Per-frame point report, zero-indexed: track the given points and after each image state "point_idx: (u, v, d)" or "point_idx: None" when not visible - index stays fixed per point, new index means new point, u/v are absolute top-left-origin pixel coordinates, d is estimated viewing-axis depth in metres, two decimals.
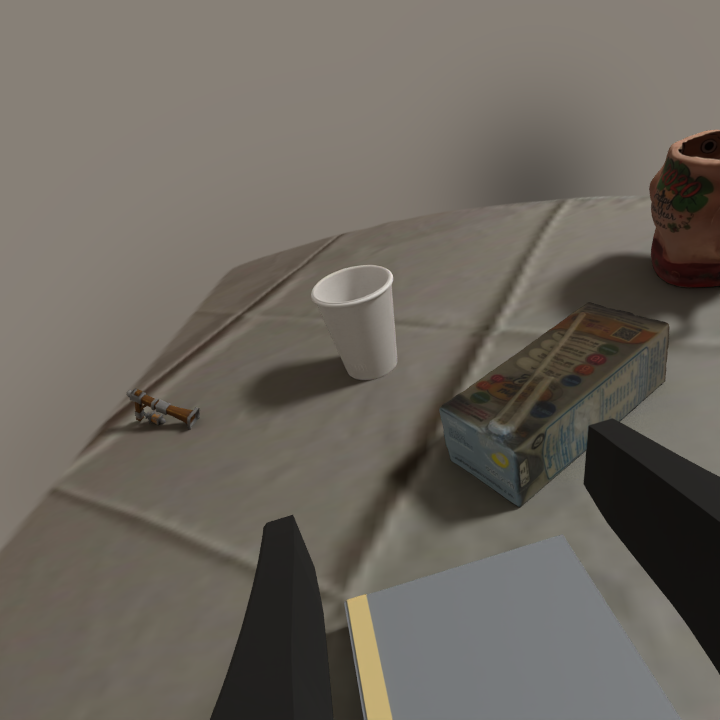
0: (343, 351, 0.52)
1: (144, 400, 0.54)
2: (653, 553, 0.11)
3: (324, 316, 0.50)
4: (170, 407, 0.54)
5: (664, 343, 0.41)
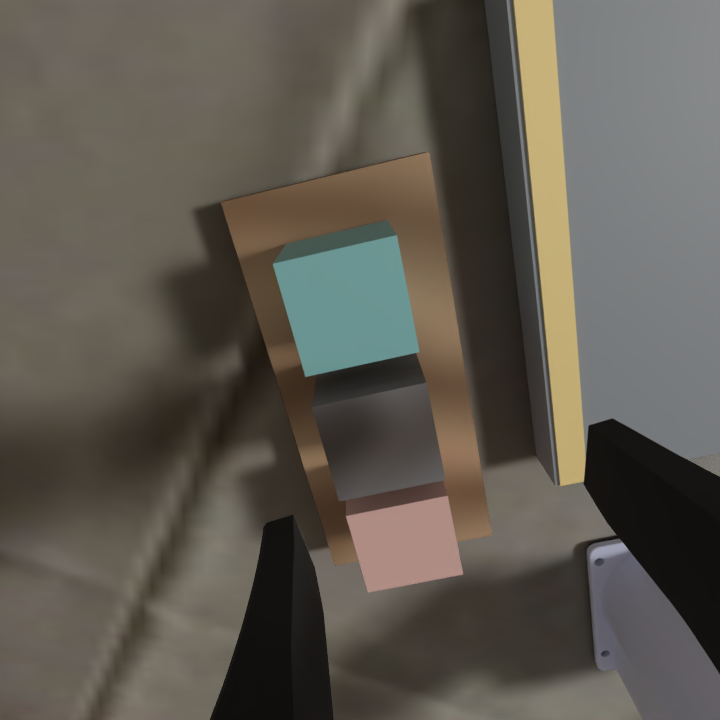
0: None
1: None
2: (653, 553, 0.11)
3: None
4: None
5: None
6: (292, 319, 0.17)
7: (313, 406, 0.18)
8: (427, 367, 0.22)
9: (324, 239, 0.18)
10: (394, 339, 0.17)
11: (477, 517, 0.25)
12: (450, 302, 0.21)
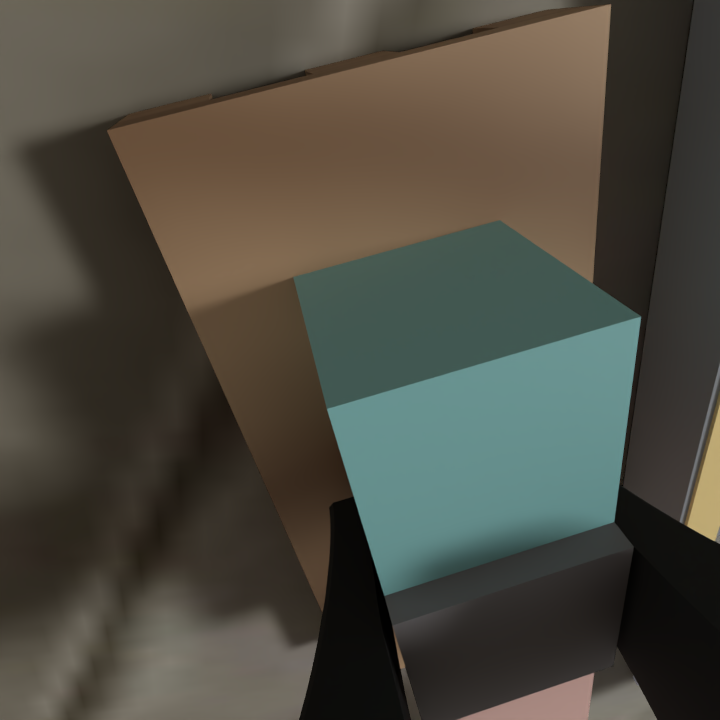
0: None
1: None
2: None
3: None
4: None
5: None
6: (366, 510, 0.07)
7: (395, 621, 0.08)
8: None
9: (394, 282, 0.08)
10: (574, 510, 0.08)
11: None
12: None
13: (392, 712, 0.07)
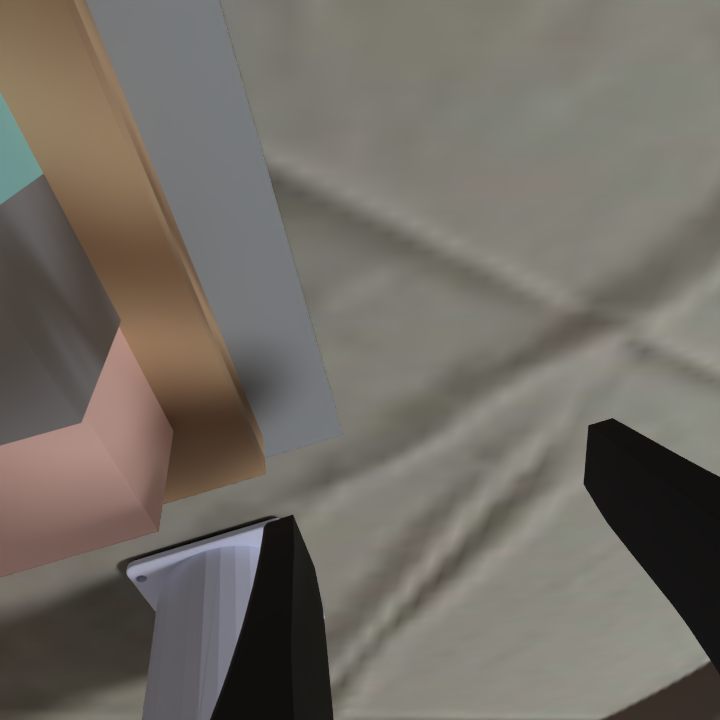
0: None
1: None
2: (654, 553, 0.11)
3: None
4: None
5: None
6: None
7: None
8: (92, 227, 0.13)
9: None
10: None
11: (239, 453, 0.17)
12: (100, 98, 0.11)
13: None
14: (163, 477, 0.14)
